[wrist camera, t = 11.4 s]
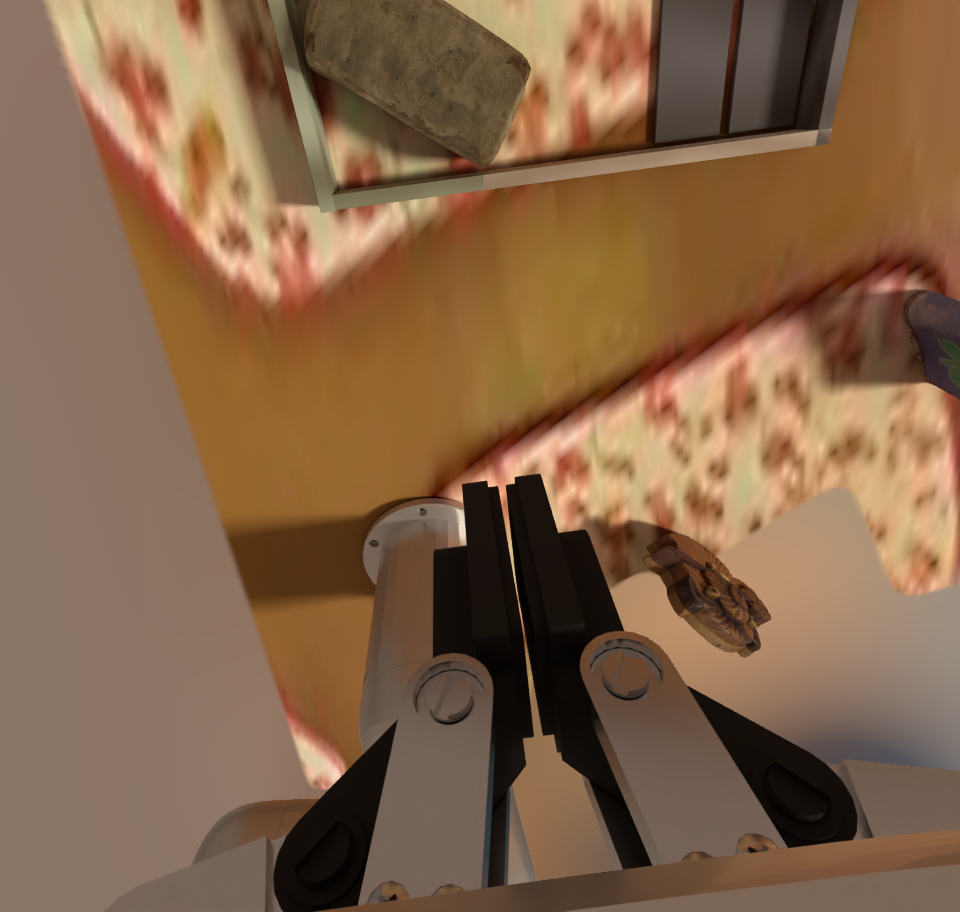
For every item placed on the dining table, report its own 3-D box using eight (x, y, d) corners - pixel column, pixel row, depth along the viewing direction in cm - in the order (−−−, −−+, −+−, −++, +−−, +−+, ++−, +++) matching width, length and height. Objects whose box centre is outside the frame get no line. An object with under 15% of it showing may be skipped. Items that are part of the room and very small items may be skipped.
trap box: (804, 142, 34) (833, 144, 32) (329, 206, 34) (320, 212, 32) (876, -250, 25) (924, -291, 23) (239, -164, 25) (218, -195, 23)
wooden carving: (761, 570, 55) (821, 652, 46) (728, 597, 57) (779, 681, 48) (647, 503, 49) (691, 582, 41) (614, 536, 51) (650, 618, 42)
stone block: (485, 168, 34) (491, 175, 30) (306, 67, 31) (285, 58, 26) (530, 68, 31) (544, 60, 27) (339, -55, 28) (322, -86, 24)
